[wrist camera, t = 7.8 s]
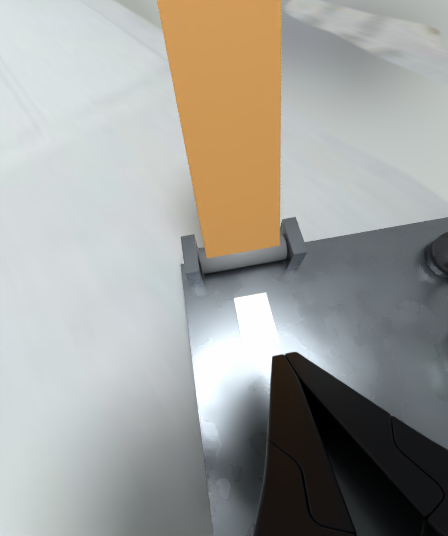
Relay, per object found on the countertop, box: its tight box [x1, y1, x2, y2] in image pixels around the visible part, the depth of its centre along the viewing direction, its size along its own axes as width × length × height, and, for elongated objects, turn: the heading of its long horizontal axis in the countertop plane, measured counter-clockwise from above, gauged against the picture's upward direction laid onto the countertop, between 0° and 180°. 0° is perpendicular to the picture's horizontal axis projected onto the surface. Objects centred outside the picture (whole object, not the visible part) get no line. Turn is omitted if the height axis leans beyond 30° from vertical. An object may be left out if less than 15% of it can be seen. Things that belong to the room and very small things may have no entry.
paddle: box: [157, 0, 287, 274], centre depth 13 cm, size 2×5×13 cm
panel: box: [181, 217, 448, 536], centre depth 13 cm, size 21×22×4 cm
